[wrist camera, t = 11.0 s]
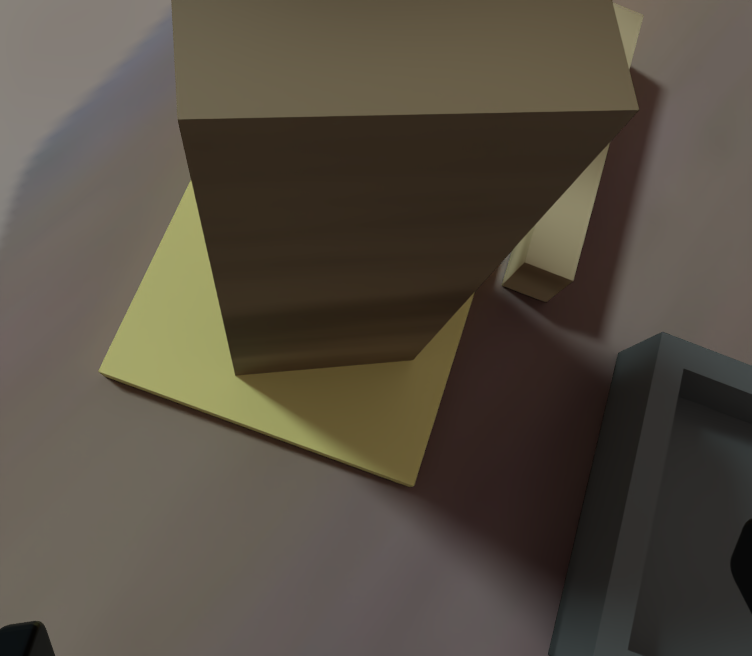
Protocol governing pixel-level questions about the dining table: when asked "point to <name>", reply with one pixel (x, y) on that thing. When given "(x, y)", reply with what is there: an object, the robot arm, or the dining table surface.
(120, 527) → the dining table surface
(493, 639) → the dining table surface
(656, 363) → the charcoal tray
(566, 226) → the brown lane walls
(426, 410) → the pad
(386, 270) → the walnut block
